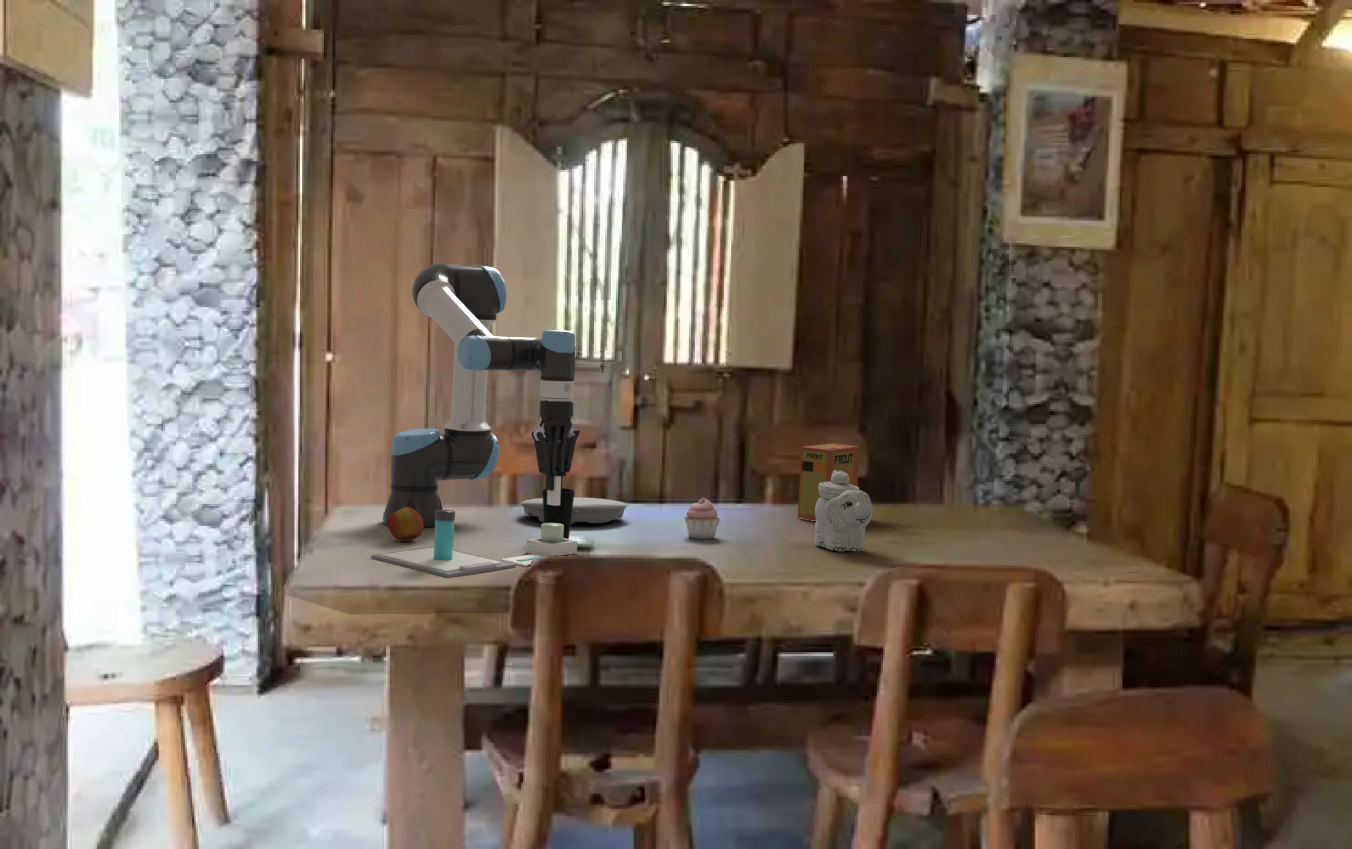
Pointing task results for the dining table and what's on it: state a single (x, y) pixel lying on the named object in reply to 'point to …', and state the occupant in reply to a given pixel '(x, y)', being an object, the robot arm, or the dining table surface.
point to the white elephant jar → (841, 514)
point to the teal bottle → (444, 534)
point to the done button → (552, 532)
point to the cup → (559, 510)
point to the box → (823, 472)
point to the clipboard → (443, 562)
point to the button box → (551, 547)
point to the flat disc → (581, 509)
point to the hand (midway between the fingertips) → (553, 504)
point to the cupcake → (702, 520)
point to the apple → (405, 524)
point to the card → (522, 559)
